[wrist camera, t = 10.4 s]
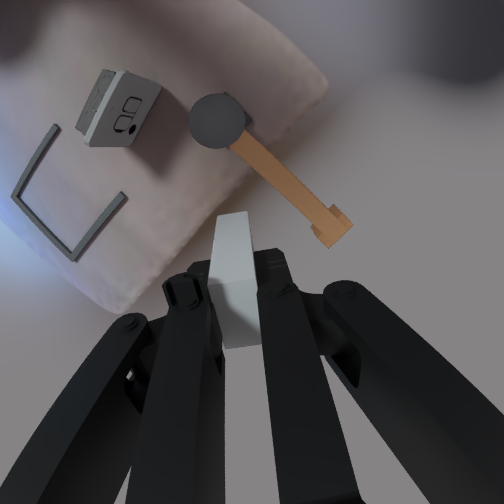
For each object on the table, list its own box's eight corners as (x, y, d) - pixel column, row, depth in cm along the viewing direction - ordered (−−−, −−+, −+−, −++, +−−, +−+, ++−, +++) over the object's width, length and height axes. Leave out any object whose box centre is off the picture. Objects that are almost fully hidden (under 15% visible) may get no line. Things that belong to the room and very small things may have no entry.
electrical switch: (131, 147, 38) (98, 154, 29) (102, 131, 37) (65, 135, 28) (164, 86, 34) (137, 75, 26) (134, 71, 33) (101, 59, 25)
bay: (12, 195, 38) (10, 196, 38) (55, 123, 35) (53, 123, 34) (73, 260, 44) (72, 262, 43) (126, 195, 40) (124, 197, 40)
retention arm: (183, 123, 25) (176, 124, 22) (217, 86, 24) (214, 82, 21) (316, 241, 31) (325, 256, 27) (347, 210, 29) (360, 222, 26)
